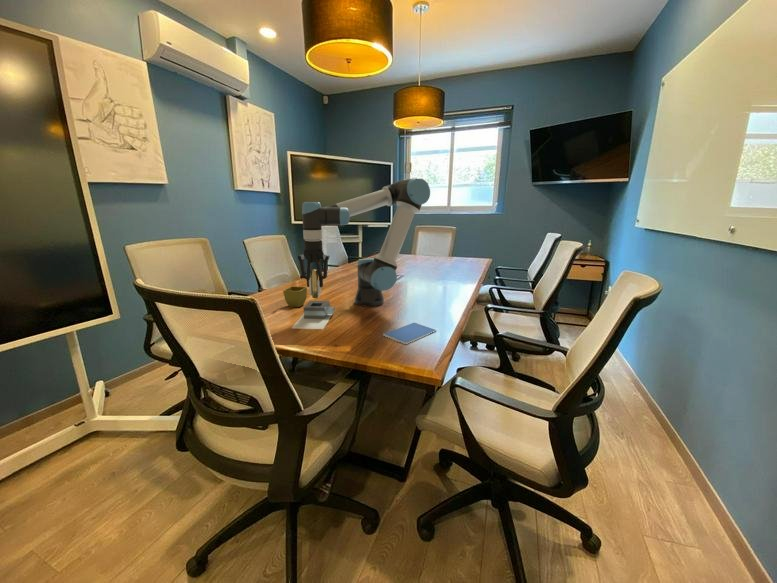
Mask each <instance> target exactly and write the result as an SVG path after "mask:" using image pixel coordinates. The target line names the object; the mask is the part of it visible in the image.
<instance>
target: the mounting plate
mask: <svg viewBox="0 0 777 583" xmlns="http://www.w3.org/2000/svg"><path fill="white" fill-rule="evenodd" d="M332 315H333V314H328V315H327V316H326V318H325V319H304V313H303V314H302V315H301V316H300V318H299V319H298V320H297V321H296V322H295V323H294V324H293V325H292V326H291V329H295V330H296V329H300V330H302V329H303V330H305V329H306V330H307V329H308V330H324V329H325V327H326V326H327V324H328V322H329V320H330V319H331V317H332Z"/></svg>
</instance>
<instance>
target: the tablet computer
mask: <svg viewBox="0 0 777 583" xmlns="http://www.w3.org/2000/svg"><path fill="white" fill-rule="evenodd" d="M433 331H437V330H436V329H435V328H431V327H428V326H427V325H422V324H420V323H417V322H412V323H408V324H407V325H403V326H400V327H399V328H395V329H393V330H390V331H387V332H385V333H383V334H382V336H383V337H384V336H385V337H384V338H386V337H388V338H387V339H389V338H390V339H389V340H391V339H393V340H392V341H394V340H395V341H394V342H396V341H398V342H397V343H399V342H401V343H403V344H402V345H404V344H407V345H408V343H409V344H411V343H413V342H415V340H416V339H418V338H420V339H422V338H421V337H423V336H425V335H427V334H429V333H431V332H433ZM427 336H428V335H427ZM425 337H426V336H425ZM423 338H424V337H423ZM418 340H419V339H418ZM412 341H413V342H412ZM416 341H417V340H416ZM410 342H411V343H410ZM401 343H400V344H401Z"/></svg>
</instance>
